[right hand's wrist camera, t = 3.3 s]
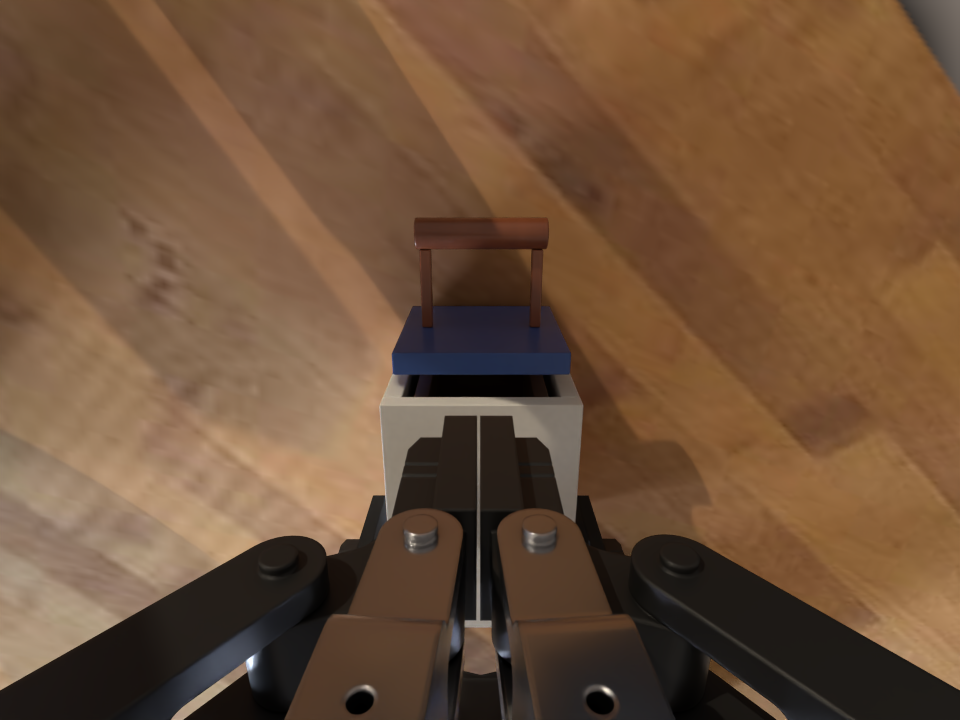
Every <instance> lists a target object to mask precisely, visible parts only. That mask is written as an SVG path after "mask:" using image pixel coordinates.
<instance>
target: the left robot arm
mask: <svg viewBox="0 0 960 720" xmlns="http://www.w3.org/2000/svg"><path fill="white" fill-rule="evenodd" d="M386 521H387V514H386V499H385V496H373V498H372V501H371V504H370V507H369V511H368V514H367V517H366V520H365V523H364V527H363V530H362V533H361V536H360V539H347V540H346V541H345V542H344V543H343V544H342V545H341V547H340V550H339V553H343V552H348V551H351V550H355V549H358V548H361V547H363V546H365V545H367V544H369V543H371V542H373V541H374V540H376V538H377V536H378V533H379V531H380V529H381V527H382V526H383V525H384V523H385V522H386ZM575 523H576V525H577V526H578V527H579V529H580V531H581V533H582V536H583V538H584V541H585V543H586V544H588V545H590V546H592V547H595V548H598V549H600V550H604V551H608V552H612V553H616V554H621V555H624V553H623V550H622V547H621V544H620V543H619V542H618V541H617V540H616V539H602V537H601V534H600V531H599V528H598V524H597V521H596V518H595V515H594V512H593V509H592V505H591V502H590V499H589V496H577V505H576V519H575ZM339 553H338V554H339ZM458 720H502V713H501V704H500V696H499V687H498V679H497V672H492V673H488V674H484V675H478V674H474V673H469V672H465V671H463V679H462V687H461V696H460V704H459V713H458Z"/></svg>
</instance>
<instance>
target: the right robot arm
mask: <svg viewBox="0 0 960 720" xmlns="http://www.w3.org/2000/svg"><path fill="white" fill-rule="evenodd" d="M476 600H477V416H445V417H444V425H443V432H442V437H420V438H419V439H418V440H417V441H416V442H415V443H414V444H413V445H412V446H411V447H410V448H409V449H408V452H407V456H406V460H405V466H404V468H403V472H402V477H401V481H400V485H399V489H398V493H397V497H396V501H395V505H394V509H393V514H392V518H390V519H389V520H388V521H386V522H385V523H384V525H383V526H382V527H381V529H380V531H379V533H378V536H377V538H376V540H374V541H373V542H371V543H369V544H367V545H365V546H363V547H361V548H358V549H355V550H351V551H348V552H343V553H339V554H334V555H330V556H326V552H325V549H324V548H323V546H322V545H321V544H320V543H319V542H317V541H315V540H313V539H311V538H308V537H303V536H283V537H278V538H274V539H270V540H267V541H265V542H262V543H260V544H258V545H256V546H254V547H252V548H250V549H249V550H247V551H245V552H243V553H242V554H240V555H238V556H236V557H235V558H233V559H231V560H229V561H227V562H226V563H224V564H222V565H220V566H219V567H217V568H215V569H213V570H212V571H210V572H208V573H206V574H205V575H203V576H201V577H199V578H198V579H196V580H194V581H192V582H191V583H189V584H187V585H185V586H183V587H182V588H180V589H178V590H176V591H175V592H173V593H171V594H169V595H168V596H166V597H164V598H162V599H161V600H159V601H157V602H155V603H154V604H152V605H150V606H148V607H146V608H145V609H143V610H141V611H139V612H138V613H136V614H134V615H132V616H131V617H129V618H127V619H125V620H124V621H122V622H120V623H118V624H117V625H115V626H113V627H111V628H109V629H108V630H106V631H104V632H102V633H101V634H99V635H97V636H95V637H94V638H92V639H90V640H88V641H87V642H85V643H83V644H81V645H80V646H78V647H76V648H74V649H72V650H71V651H69V652H67V653H65V654H64V655H62V656H60V657H58V658H57V659H55V660H53V661H51V662H50V663H48V664H46V665H44V666H43V667H41V668H39V669H37V670H35V671H34V672H32V673H30V674H28V675H27V676H25V677H23V678H21V679H20V680H18V681H16V682H14V683H13V684H11V685H9V686H7V687H6V688H4V689H2V690H0V720H171V718H172V717H173V716H174V715H175V714H176V713H177V712H178V711H179V710H180V709H181V708H182V707H183V706H184V705H186V704H187V703H188V702H190V701H191V700H192V699H194V698H195V697H197V696H198V695H199V694H201V693H202V692H203V691H205V690H206V689H208V688H209V687H210V686H212V685H213V684H214V683H216V682H217V681H219V680H220V679H221V678H223V677H224V676H226V675H227V674H228V673H230V672H231V671H232V670H234V669H235V668H237V667H238V666H239V665H241V664H242V663H243V662H245V661H246V666H247V671H248V672H247V673H246V674H244V675H243V676H242V677H240V678H239V679H238V680H236V681H235V682H234V683H232V684H231V685H230V686H228V687H227V688H225V689H224V690H223V691H221V692H220V693H219V694H217V695H216V696H215V697H213V698H212V699H211V700H209V701H208V702H207V703H205V704H204V705H203V706H201V707H200V708H199V709H197V710H196V711H194V712H193V713H192V714H190V715H189V716H188V717H186V718H185V719H184V720H458V713H459V704H460V696H461V687H462V679H463V671H464V658H465V656H464V630H465V620H476ZM480 621H491V623H492V641H493V644H494V647H495V649H496V656H495V658H496V671H497V679H498V687H499V696H500V704H501V713H502V720H776V719H775V718H774V717H772V716H771V715H770V714H768V713H767V712H765V711H764V710H763V709H761V708H760V707H759V706H757V705H756V704H755V703H753V702H752V701H751V700H749V699H748V698H747V697H745V696H744V695H743V694H741V693H740V692H739V691H737V690H736V689H735V688H733V687H732V686H730V685H729V684H728V683H726V682H725V681H724V680H722V679H721V678H720V677H718V676H717V675H716V674H714V673H713V672H712V671H710V670H709V665H710V660H711V659H712V660H714V661H715V662H717V663H718V664H719V665H721V666H722V667H723V668H725V669H726V670H728V671H729V672H730V673H732V674H733V675H734V676H736V677H737V678H739V679H740V680H741V681H743V682H744V683H746V684H747V685H748V686H750V687H751V688H752V689H754V690H755V691H757V692H758V693H759V694H761V695H762V696H763V697H765V698H766V699H768V700H769V701H770V702H772V703H773V704H774V705H775V706H776V707H777V708H778V709H780V710H781V712H782V713H783V714H784V715H785V716H786V718H787V719H788V720H960V690H958V689H956V688H954V687H953V686H951V685H949V684H947V683H946V682H944V681H942V680H940V679H939V678H937V677H935V676H933V675H932V674H930V673H928V672H926V671H925V670H923V669H921V668H919V667H917V666H916V665H914V664H912V663H910V662H909V661H907V660H905V659H903V658H902V657H900V656H898V655H896V654H895V653H893V652H891V651H889V650H888V649H886V648H884V647H882V646H880V645H879V644H877V643H875V642H873V641H872V640H870V639H868V638H866V637H865V636H863V635H861V634H859V633H858V632H856V631H854V630H852V629H851V628H849V627H847V626H845V625H843V624H842V623H840V622H838V621H836V620H835V619H833V618H831V617H829V616H828V615H826V614H824V613H822V612H821V611H819V610H817V609H815V608H814V607H812V606H810V605H808V604H806V603H805V602H803V601H801V600H799V599H798V598H796V597H794V596H792V595H791V594H789V593H787V592H785V591H784V590H782V589H780V588H778V587H777V586H775V585H773V584H771V583H769V582H768V581H766V580H764V579H762V578H761V577H759V576H757V575H755V574H754V573H752V572H750V571H748V570H747V569H745V568H743V567H741V566H740V565H738V564H736V563H734V562H732V561H731V560H729V559H727V558H725V557H724V556H722V555H720V554H718V553H717V552H715V551H713V550H711V549H710V548H708V547H706V546H704V545H702V544H700V543H698V542H696V541H694V540H691V539H688V538H685V537H681V536H676V535H654V536H650V537H646V538H644V539H642V540H640V541H639V542H638V543H637V544H636V545H635V546H634V548H633V550H632V555H631V557H630V556H625V555H621V554H616V553H612V552H608V551H604V550H600V549H598V548H595V547H592V546H590V545H588V544H586V543H585V541H584V538H583V536H582V533H581V531H580V529H579V527H578V526H577V525H576V523H575V522H574V521H572V520H571V519H570V518H568V517H567V516H565V515H564V512H563V508H562V503H561V499H560V495H559V491H558V486H557V482H556V478H555V473H554V469H553V466H552V460H551V456H550V452H549V449H548V448H547V447H546V446H545V445H544V444H543V443H542V442H541V441H540V440H539V439H538V438H537V437H515V432H514V424H513V416H480Z"/></svg>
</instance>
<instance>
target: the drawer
mask: <svg viewBox="0 0 960 720" xmlns="http://www.w3.org/2000/svg"><path fill="white" fill-rule="evenodd" d="M548 238H549V224H548V219H547V218H415V221H414V242H415V247H416V249H420V278H421V304H422V306H413V307H412V309H411V312H410V314H409V316H408V318H407V321H406V323H405V325H404V328H403V330H402V332H401V334H400V337H399V339H398V341H397V343H396V346H395V348H394V350H393V352H392V365H393V374H394V375H420V377H419V381H418V384H417V388H416V392H415V395H414V397H549V396H548V393H547V389H546V386H545V382H544V379H543V375H569V374H570V364H571V353H570V350H569V348H568V346H567V344H566V342H565V339H564V337H563V335H562V333H561V331H560V328H559V326H558V324H557V322H556V320H555V318H554V315H553V313H552V311H551V309H550V307H549V306H541V293H542V267H543V250H542V249H547V246H548ZM431 249H532V250H531V282H530V306H433V296H432V264H431Z"/></svg>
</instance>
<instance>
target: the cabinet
mask: <svg viewBox="0 0 960 720" xmlns="http://www.w3.org/2000/svg"><path fill="white" fill-rule="evenodd" d="M419 377H420V375H394V374H392V376H391V379H390V381H389V384H388V386H387V389H386V391H385V394H384V396H383V398H382V401H381V403H380V420H381V435H382V449H383V464H384V478H385V493H386V508H387V521H388V520H389V519H390V518H392V514H393V509H394V505H395V501H396V497H397V493H398V489H399V485H400V481H401V477H402V472H403V468H404V466H405V460H406V456H407V452H408V449H409V448H410V447H411V446H412V445H413V444H414V443H415V442H416V441H417V440H418V439H419V438H420V437H442V432H443V425H444V417H445V416H477V600H476V620H465V627H492V623H491V621H480V416H513V424H514V432H515V437H537V438H538V439H539V440H540V441H541V442H542V443H543V444H544V445H545V446H546V447H547V448H548V449H549V452H550V456H551V460H552V466H553V469H554V473H555V478H556V482H557V486H558V491H559V495H560V499H561V503H562V508H563V512H564V515H565V516H567V517H568V518H570V519H571V520H572V521H574V522H575V519H576V505H577V491H578V476H579V462H580V448H581V433H582V419H583V403H582V401H581V398H580V396H579V394H578V392H577V389H576V387H575V384H574V382H573V379H572V377H571V375H570V374H569V375H543V379H544V382H545V386H546V389H547V393H548V396H549V397H414V395H415V392H416V388H417V384H418V381H419Z"/></svg>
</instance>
